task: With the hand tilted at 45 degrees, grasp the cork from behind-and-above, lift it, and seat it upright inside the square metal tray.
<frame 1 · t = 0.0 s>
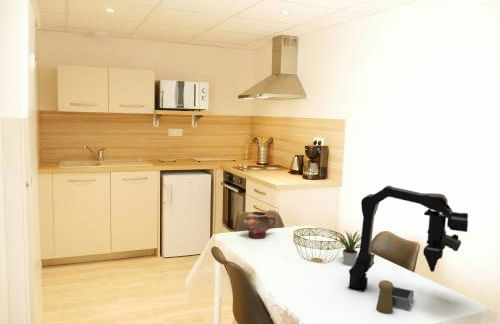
hand: (433, 267, 157), 15 cm above the table, tool pointing down, fingers open, 9 cm apart
house plant: (351, 263, 201), on the table
square metal tray: (397, 302, 159), on the table
cork: (384, 310, 153), on the table
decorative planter: (259, 236, 241), on the table
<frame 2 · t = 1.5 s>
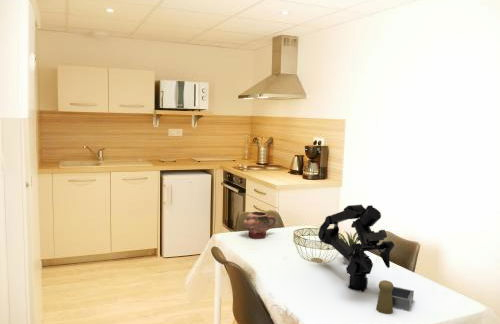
hand: (378, 268, 158), 13 cm above the table, tool tilted 45°, fingers open, 9 cm apart
nothing on the table moved.
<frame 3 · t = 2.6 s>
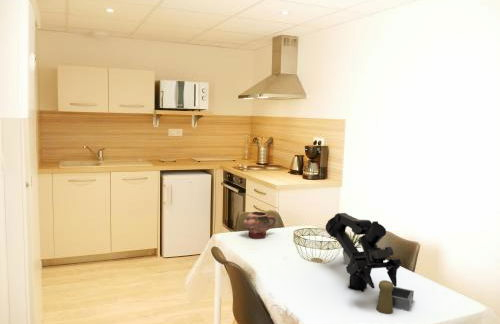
hand: (384, 287, 153), 9 cm above the table, tool tilted 45°, fingers open, 9 cm apart
nothing on the table moved.
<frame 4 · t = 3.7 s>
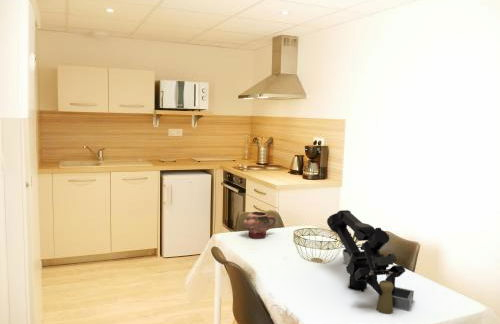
hand: (387, 294, 151), 7 cm above the table, tool tilted 45°, fingers closed on cork, 5 cm apart
cork: (384, 310, 153), on the table, touching gripper
everything else where it was.
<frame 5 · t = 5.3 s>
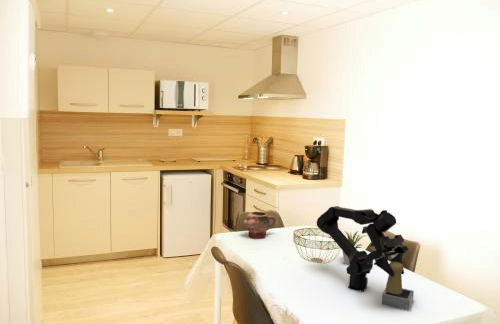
hand: (398, 275, 154), 13 cm above the table, tool tilted 45°, fingers closed on cork, 5 cm apart
cork: (393, 291, 156), point 6 cm above the table, touching gripper
everything else where it was.
when the fingers open (9 cm above the table, at t = 6.7 s): cork drops 2 cm, resting on square metal tray.
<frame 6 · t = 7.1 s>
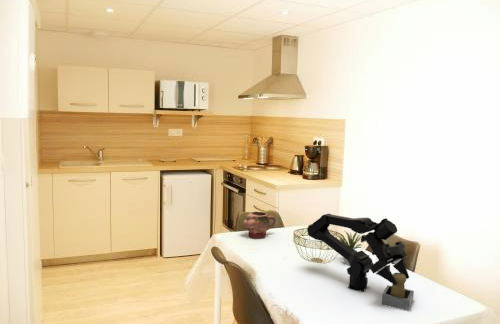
hand: (402, 281, 157), 9 cm above the table, tool tilted 45°, fingers open, 9 cm apart
cork: (397, 301, 159), resting on square metal tray
everything else where it was.
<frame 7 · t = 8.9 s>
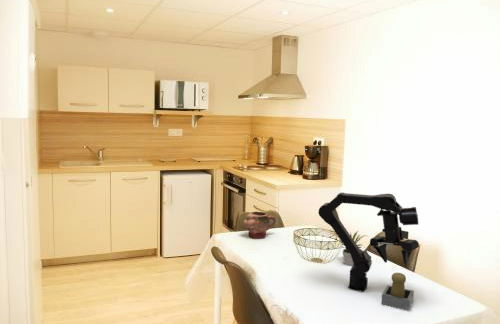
hand: (396, 263, 165), 13 cm above the table, tool pointing down, fingers open, 9 cm apart
nothing on the table moved.
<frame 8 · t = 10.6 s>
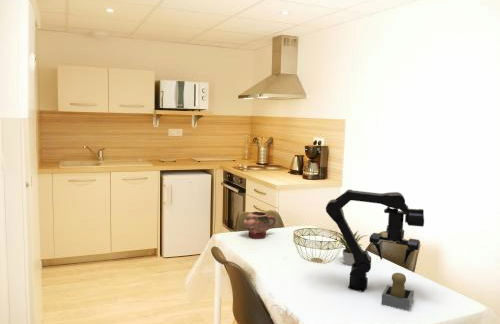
hand: (393, 261, 167), 13 cm above the table, tool pointing down, fingers open, 9 cm apart
nothing on the table moved.
at the end: cork 0.1 cm off-centre on the square metal tray, point 0.4 cm above the square metal tray's base; cork tilted 0°; the gripper is holding nothing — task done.
